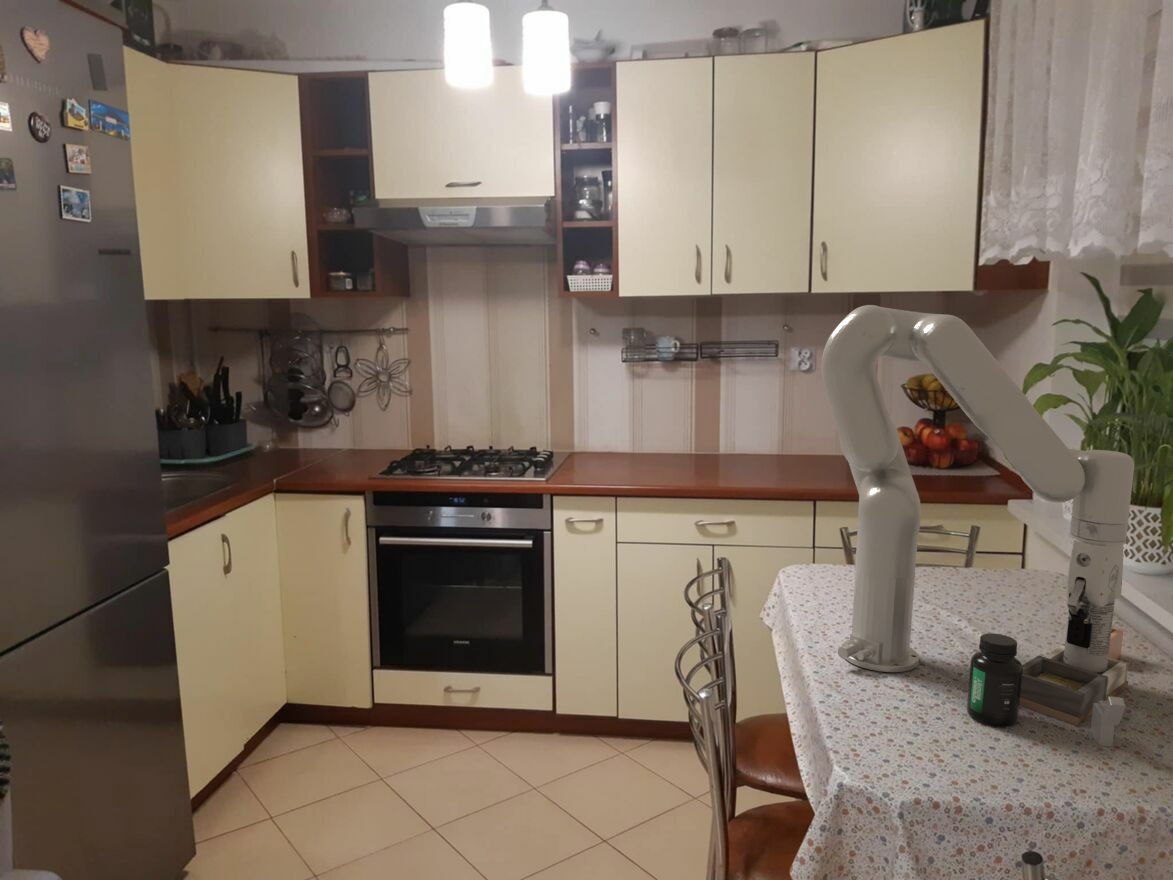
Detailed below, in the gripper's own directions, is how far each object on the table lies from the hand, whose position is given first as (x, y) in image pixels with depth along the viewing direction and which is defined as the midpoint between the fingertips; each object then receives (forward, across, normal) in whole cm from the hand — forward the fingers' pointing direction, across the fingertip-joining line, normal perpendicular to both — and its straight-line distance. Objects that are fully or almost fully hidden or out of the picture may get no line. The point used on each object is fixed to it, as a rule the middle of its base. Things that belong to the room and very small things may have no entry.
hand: (1086, 639), depth 133 cm
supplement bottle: (+8, -22, +4) cm, 24 cm away
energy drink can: (+5, 0, 0) cm, 5 cm away
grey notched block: (+8, -18, -10) cm, 22 cm away
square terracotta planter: (+8, +14, +3) cm, 16 cm away
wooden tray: (+8, -6, 0) cm, 9 cm away
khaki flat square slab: (+6, -10, 0) cm, 12 cm away
